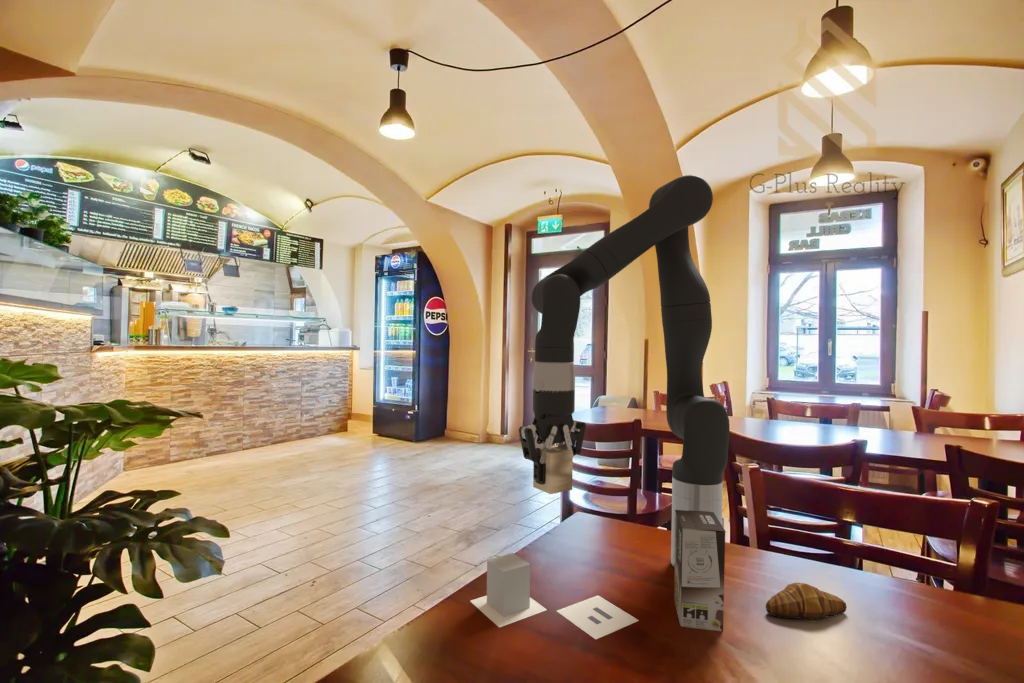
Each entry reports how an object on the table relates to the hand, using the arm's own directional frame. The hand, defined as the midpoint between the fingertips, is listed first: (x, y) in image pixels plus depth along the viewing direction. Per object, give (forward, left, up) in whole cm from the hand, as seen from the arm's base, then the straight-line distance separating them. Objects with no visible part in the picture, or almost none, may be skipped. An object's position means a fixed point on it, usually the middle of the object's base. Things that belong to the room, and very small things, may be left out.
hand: (552, 480), depth 92 cm
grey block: (+12, +4, -17) cm, 21 cm away
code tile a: (+2, +14, -19) cm, 23 cm away
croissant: (-29, +30, -19) cm, 46 cm away
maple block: (0, 0, -1) cm, 1 cm away
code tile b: (+12, +4, -19) cm, 22 cm away
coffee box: (-12, +22, -19) cm, 31 cm away
